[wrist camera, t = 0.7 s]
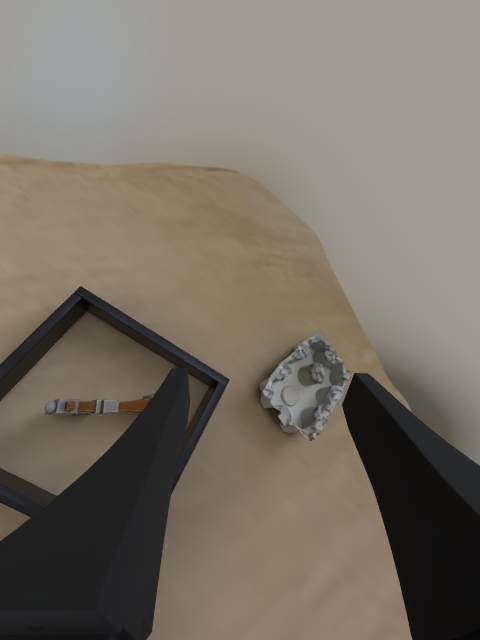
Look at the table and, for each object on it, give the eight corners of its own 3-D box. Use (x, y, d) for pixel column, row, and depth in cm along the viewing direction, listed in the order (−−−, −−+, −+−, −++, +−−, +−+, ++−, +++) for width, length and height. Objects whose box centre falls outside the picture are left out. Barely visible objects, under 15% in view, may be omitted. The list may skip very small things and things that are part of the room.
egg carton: (288, 444, 28) (312, 447, 25) (246, 387, 29) (263, 382, 25) (340, 382, 34) (365, 377, 30) (303, 335, 34) (324, 325, 31)
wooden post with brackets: (34, 398, 21) (50, 392, 18) (133, 398, 26) (157, 393, 23) (29, 423, 20) (45, 420, 17) (132, 418, 26) (157, 415, 23)
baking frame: (133, 548, 21) (134, 566, 18) (-66, 452, 18) (-97, 457, 16) (219, 383, 28) (229, 379, 25) (85, 299, 25) (80, 285, 23)
